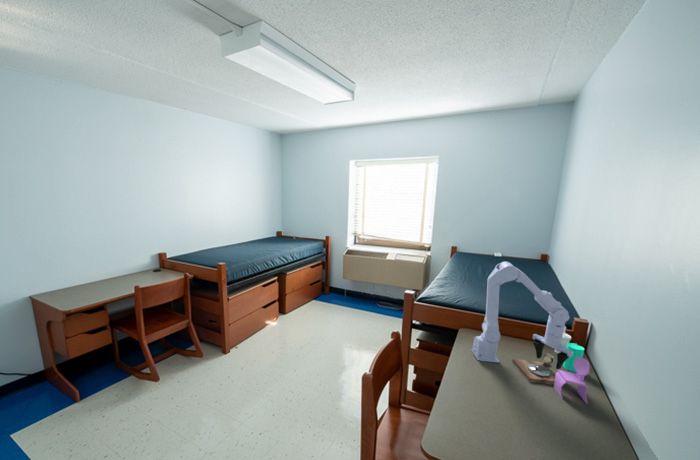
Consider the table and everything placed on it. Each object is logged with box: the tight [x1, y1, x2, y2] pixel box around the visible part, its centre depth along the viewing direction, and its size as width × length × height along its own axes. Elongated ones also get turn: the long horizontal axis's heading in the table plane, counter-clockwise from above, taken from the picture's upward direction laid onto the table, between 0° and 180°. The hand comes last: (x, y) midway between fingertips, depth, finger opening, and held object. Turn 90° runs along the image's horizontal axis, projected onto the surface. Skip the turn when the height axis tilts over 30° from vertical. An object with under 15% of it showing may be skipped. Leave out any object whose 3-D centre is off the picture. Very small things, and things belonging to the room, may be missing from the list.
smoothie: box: [554, 326, 572, 354], centre depth 130 cm, size 6×6×14 cm
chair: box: [553, 357, 591, 405], centre depth 101 cm, size 8×9×15 cm
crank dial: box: [528, 353, 556, 377], centre depth 113 cm, size 12×8×5 cm, turn 116°
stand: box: [512, 358, 556, 386], centre depth 114 cm, size 13×13×2 cm
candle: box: [562, 342, 585, 373], centre depth 119 cm, size 6×6×12 cm
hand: (548, 362), depth 115 cm, fingers open, 7 cm apart
